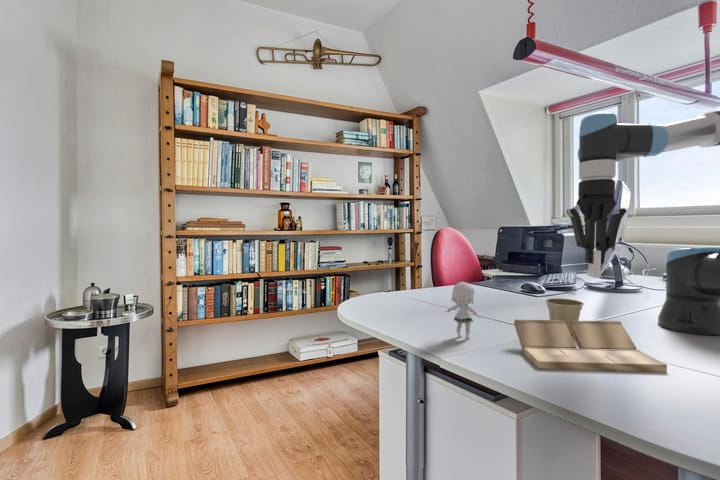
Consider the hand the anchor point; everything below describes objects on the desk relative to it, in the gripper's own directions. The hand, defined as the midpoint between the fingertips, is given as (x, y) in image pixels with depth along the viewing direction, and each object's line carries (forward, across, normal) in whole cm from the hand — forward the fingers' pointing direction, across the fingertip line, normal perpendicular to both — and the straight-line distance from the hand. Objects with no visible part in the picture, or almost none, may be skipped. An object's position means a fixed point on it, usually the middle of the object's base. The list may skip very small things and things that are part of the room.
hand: (594, 276), depth 91 cm
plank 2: (+14, 0, +3) cm, 15 cm away
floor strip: (+17, +6, +11) cm, 22 cm away
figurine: (+18, +31, -4) cm, 36 cm away
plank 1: (+14, +13, +2) cm, 19 cm away
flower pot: (+17, +2, -12) cm, 21 cm away
